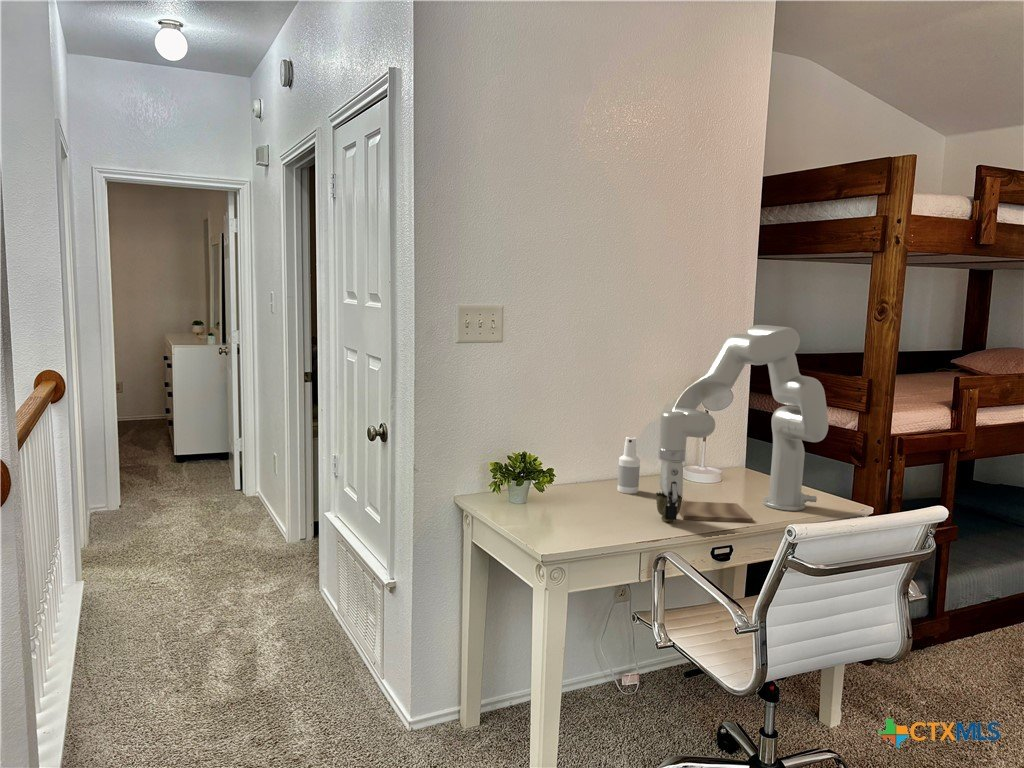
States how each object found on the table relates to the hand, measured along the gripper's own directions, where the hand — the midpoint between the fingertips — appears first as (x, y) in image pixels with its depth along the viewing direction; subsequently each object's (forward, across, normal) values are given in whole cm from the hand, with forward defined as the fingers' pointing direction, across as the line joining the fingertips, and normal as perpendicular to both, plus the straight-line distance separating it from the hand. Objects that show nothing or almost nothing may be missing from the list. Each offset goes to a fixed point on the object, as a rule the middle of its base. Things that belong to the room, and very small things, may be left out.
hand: (667, 515), depth 219 cm
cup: (+2, 0, 0) cm, 2 cm away
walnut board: (+2, +10, -15) cm, 18 cm away
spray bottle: (+2, +32, +7) cm, 33 cm away
